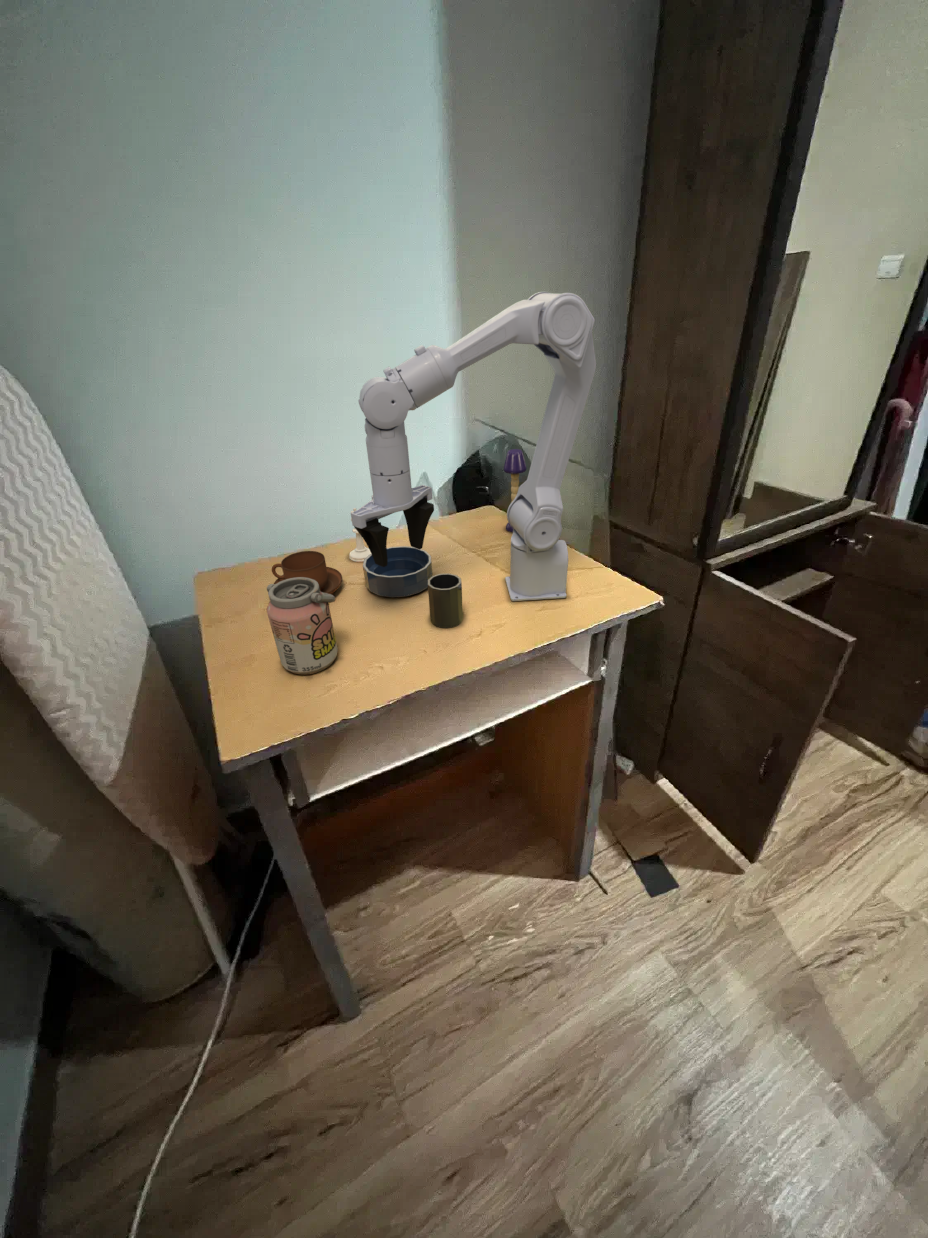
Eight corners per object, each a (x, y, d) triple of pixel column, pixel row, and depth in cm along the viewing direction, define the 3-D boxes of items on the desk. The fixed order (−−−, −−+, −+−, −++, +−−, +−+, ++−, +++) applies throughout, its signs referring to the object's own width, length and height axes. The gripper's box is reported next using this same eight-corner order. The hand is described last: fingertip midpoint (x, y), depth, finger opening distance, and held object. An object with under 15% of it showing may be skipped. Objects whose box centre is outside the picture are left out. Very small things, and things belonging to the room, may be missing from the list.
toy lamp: (502, 532, 113) (502, 453, 104) (504, 523, 117) (505, 447, 107) (524, 533, 112) (527, 454, 103) (526, 524, 116) (528, 447, 107)
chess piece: (369, 562, 103) (362, 514, 97) (345, 560, 104) (337, 512, 98) (377, 551, 107) (371, 504, 101) (354, 550, 108) (347, 503, 102)
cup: (461, 609, 87) (460, 572, 83) (463, 627, 83) (462, 588, 79) (430, 611, 87) (427, 574, 83) (430, 629, 83) (427, 590, 79)
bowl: (432, 565, 101) (430, 544, 98) (433, 597, 91) (431, 574, 88) (369, 569, 100) (366, 548, 98) (363, 602, 90) (359, 579, 88)
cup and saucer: (271, 613, 88) (263, 581, 85) (277, 579, 98) (270, 549, 95) (344, 603, 90) (338, 571, 87) (343, 571, 100) (337, 541, 96)
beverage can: (308, 634, 82) (292, 566, 76) (354, 645, 80) (341, 575, 73) (269, 669, 75) (247, 597, 69) (318, 683, 72) (300, 609, 66)
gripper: (407, 453, 82) (414, 534, 90) (331, 478, 73) (346, 565, 81) (440, 461, 78) (444, 544, 86) (364, 488, 69) (377, 579, 77)
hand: (399, 555), depth 83 cm, fingers open, 7 cm apart
